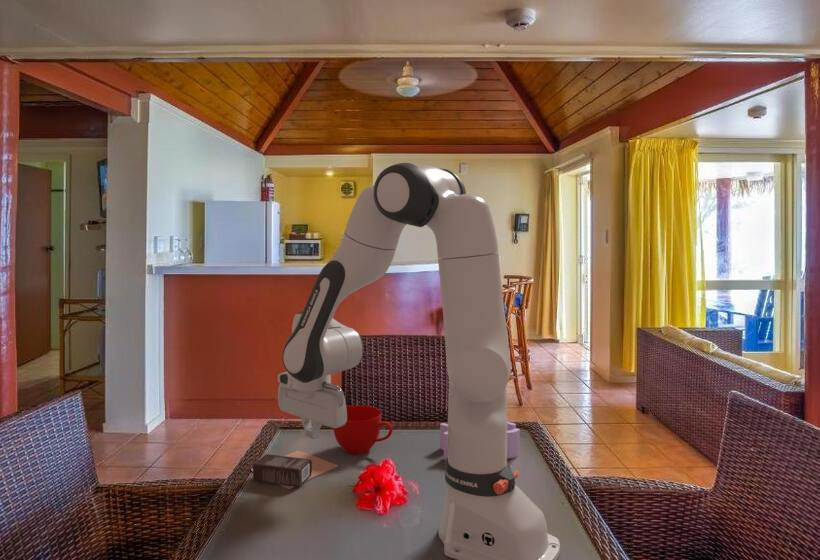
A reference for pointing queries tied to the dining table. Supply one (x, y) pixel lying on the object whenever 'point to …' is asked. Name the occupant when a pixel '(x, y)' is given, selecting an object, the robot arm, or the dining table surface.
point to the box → (282, 470)
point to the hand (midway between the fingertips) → (311, 437)
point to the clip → (512, 440)
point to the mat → (317, 465)
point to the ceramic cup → (361, 429)
